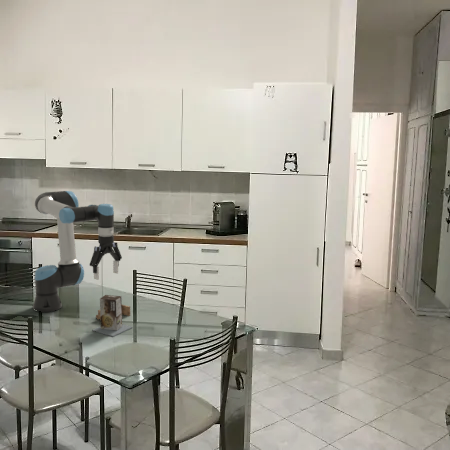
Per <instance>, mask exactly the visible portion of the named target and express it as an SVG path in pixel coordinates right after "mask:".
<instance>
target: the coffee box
mask: <svg viewBox="0 0 450 450" xmlns="http://www.w3.org/2000/svg"><path fill="white" fill-rule="evenodd" d="M122 305H123V304H122V295H121V296H119V295H111V294H105V295H103V296H102V297H100V298H99V310H100V315H101V320H100V326H101V329H107V330H116V331H117V330H118V329H120V328H121V327H122V324H123V316H122V315H123V314H122Z"/></svg>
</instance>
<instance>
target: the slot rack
mask: <svg viewBox="0 0 450 450" xmlns="http://www.w3.org/2000/svg"><path fill="white" fill-rule="evenodd" d="M122 315H124V316H126V317H127V316H128V317H129V316H131V306H129V305H126V304H122ZM96 318H97V320H99V319H100V321H101V315H100V309H98V310H97V314H96V315H95V319H96Z"/></svg>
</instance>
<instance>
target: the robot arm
mask: <svg viewBox="0 0 450 450" xmlns="http://www.w3.org/2000/svg"><path fill="white" fill-rule="evenodd" d="M79 204H80V203H79V198H78V197H77V195H76V194H75V193H74V191H71V190H60V191H46V192H43V193H40V194H39V195H38V196H37V197H36V198H35V201H34V207H35V210H36V211H37V212H39V213H40V214H44V215H51V216H54V217H55V218H56V221H57V222H56V223H57V234H58V236H57V237H58V245H59V257H60V259H59V260H60V261H59V262H58V263H57V265H58V266H56V265H55V264H50V265H44V266H40V267H38V268H37V269H36V270H35V272H34V283H35V284H34V286H35V288H34V289H35V298H34V302H33V304H32V310H33V309H35V310H37V311H41V312H40V313H50V311H52V312H55V310H56V311H58V310H61V308H62V307H63V306H62V305H63V303H62V301H61V298H60V296H59V292H58V290H59V289H61V288H66V287H72V286H75V285H76V286H77V285H80V284H81V283H82V282H83V280H84V277H85V269H84V266H83V264H82V263H80V261H79V259H77V253H76V243H75V242H76V241H75V232H74V231H75V229H74V223H84V222H92V221H96V222H97V226H98V227H97V229H98V231H97V232H98V233H97V235H98V237H97V238H98V241H97V242H98V244H99V245H98V246H94V247H93V253H92V257H91V259H90V263H89V266H90V267H92V273H93V280H97V281H99V280H100V267H99V264H100V262H101V261H102V258H103V257H104V256H105V255H107V254H110V256H111V257H112V258H113V260H112V262H113V263H112V264H113V265H112V267H113V269H112V271H113V273H114V274H119V265H120V264H119V263H120V261H121V260H122V258H123V257H122V254H121V251H120V249H119V246H118V245H119V244H118V242H115V237H114V232H115V230H114V229H115V228H114V222H115V221H114V220H115V218H114V216H115V211H114V205H113V204H110V203H101V204H98V205H97V204H89V205H87V206H79ZM37 311H36V312H37Z"/></svg>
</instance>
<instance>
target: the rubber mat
mask: <svg viewBox="0 0 450 450" xmlns="http://www.w3.org/2000/svg"><path fill="white" fill-rule="evenodd" d="M133 328H134V327H133V326H131V325H126V324H124V323H122V327H121V328H120V329H118V330H117V331H116V330H107V329H101V325H100V326H98V327H95V328H94V329H92V330H93V331H92V332H95V331H96V332H95V333H99V334H103V335H105V336H109V337H112V338H113V337H114V338H115V337H116V336H118V335H121V334H123V333H124V332H127V331H129V330H132V329H133Z"/></svg>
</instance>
